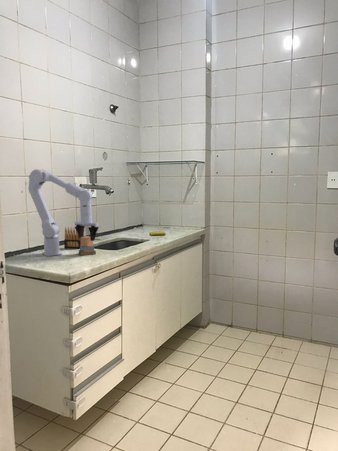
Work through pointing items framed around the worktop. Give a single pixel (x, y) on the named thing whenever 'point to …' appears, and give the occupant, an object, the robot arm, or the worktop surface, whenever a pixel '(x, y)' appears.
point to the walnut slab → (87, 253)
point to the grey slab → (86, 248)
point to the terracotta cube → (86, 241)
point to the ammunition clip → (71, 239)
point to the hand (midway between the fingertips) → (87, 239)
